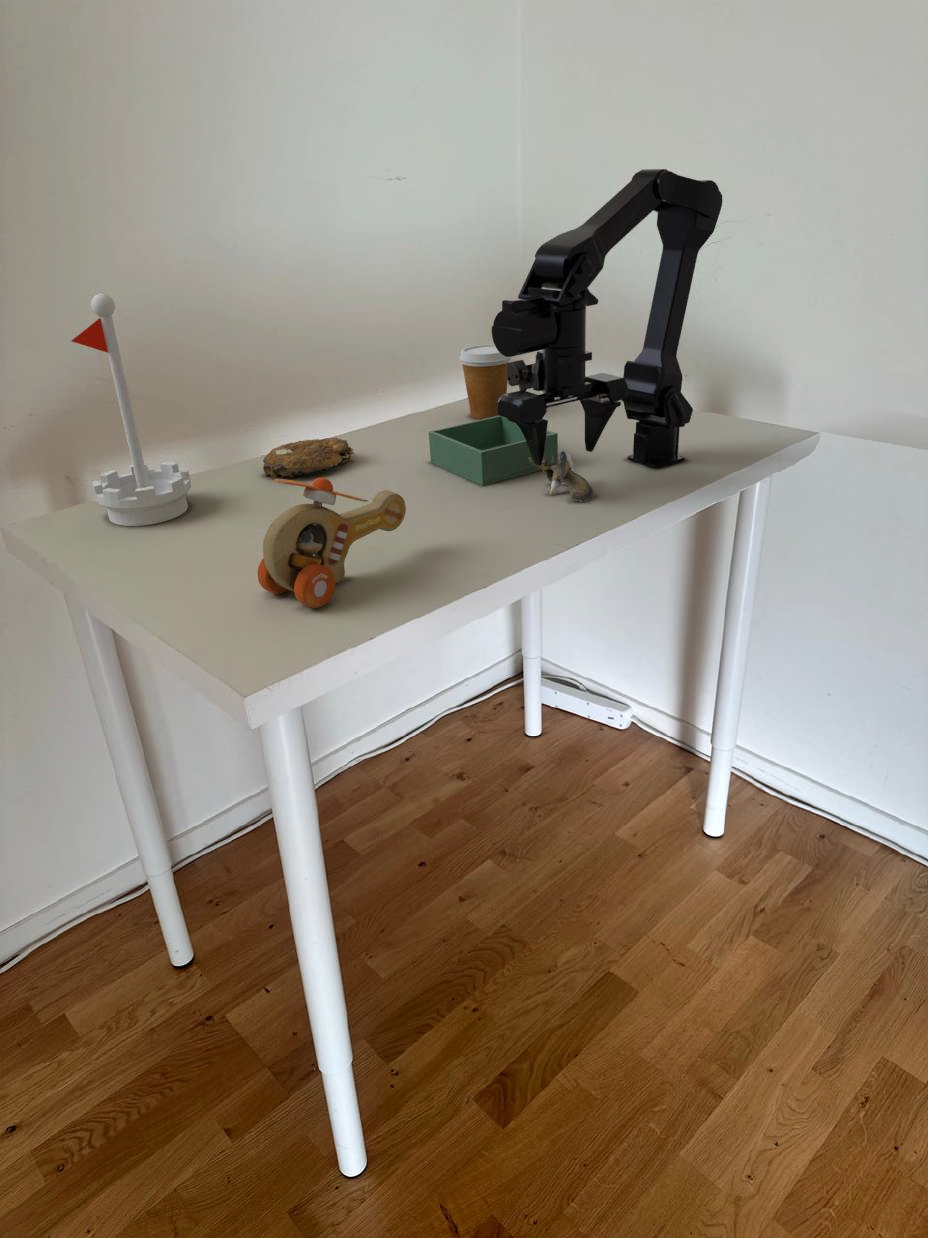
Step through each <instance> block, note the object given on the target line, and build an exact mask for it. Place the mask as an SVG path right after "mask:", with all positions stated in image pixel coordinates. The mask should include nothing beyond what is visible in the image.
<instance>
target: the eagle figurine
mask: <svg viewBox="0 0 928 1238" xmlns="http://www.w3.org/2000/svg"><path fill="white" fill-rule="evenodd" d="M559 459H560V461H559V462H558V464H557V465H554V464H555V458H554V457H553V456H552V461H551V463H550V465H549V466H548V462H547V460H546V457H545V456H544V457H543V461H542V465H540V466H538V465H536V464H535V463H534V460H533V459H532V458H530V457H529V460H530V462H531V463H532V464H533V465H534V466H536V467H539V468H540V469H541V470H540V471H543V473H544V474H545V475H546V478H547V479H548V481H549V482H550V489H549V490H550V491H549V493H548V495H549V496H551V495H552V494H553V493H556V491H557V490H558V488H559V485H560V484H562V483H565V484H566V485H567V487H568V490H569V496H570V499H571V500H572V501H575V502H580V503H584V502H585V503H586V502H587V501H588V500H590V499H591V498H592V497H593V495H594V493H593V492H594V490H593V488H592V485H590V483H589V481H587V480H586V478H584V477H583V476H581V475H580V474H579V473H577V472H575V471H574V470H572V469H573V468H574V463H573V460H572V457H571V454H570V452H568V451H566V450H564V449H561V450H560V454H559Z"/></svg>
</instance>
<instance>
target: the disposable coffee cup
mask: <svg viewBox="0 0 928 1238" xmlns="http://www.w3.org/2000/svg"><path fill="white" fill-rule="evenodd" d="M511 358H512V357H505V356H504V355H502V354H501V353H500V352H499V351H498V350H497V348H496V346H495V344H478V345H471V346H466V347H464V348H462V349H461V352H460V356H459V359H458V360H459V361H460V364H461V365H462V371H463V376H464V377H463V378H464V383H465V388H466V394H467V399H468V400H467V402H468V406H469V412H470V417H471V418H473V419H476V420H482V419H486V418H490V417H495V416H499V415H498V400H499V399H500V397H501V396H502V395H503V394H507V392H508V390H507V389H508V384H509V383H508V379H507V364H508V363H510V362H511Z"/></svg>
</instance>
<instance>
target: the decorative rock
mask: <svg viewBox="0 0 928 1238" xmlns="http://www.w3.org/2000/svg"><path fill="white" fill-rule="evenodd" d="M355 454H356V453H355V452H354V449H353V447H350V445H349V443H348V440H347V439H341V438H338V437H327V438H326V437H325V438H321V439H319V438H318V439H317V438H314V439H304V440H298V441H294V442H288V443H285V444H281V445H279V446H277V447H275V448H272V449H271V450H270V451H269V453H268V454H267V455H265V456H264V457H263V460H262V462H263V467H262V468H263V471H264V476H265V477H267V476H270V477H271V479H277V476H278V475H279V476H281V477H282V478H285V477H289V478H295V476H301V475H302V474H304V475H306V476H308V475H309V474H314V473H315V472H317V471H320V470H321V471H327V470H329V468H333V467H337V466H338V465H342V464H345V463H347V462H348V461H350V460H351V458H352V457H353V455H355Z"/></svg>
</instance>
